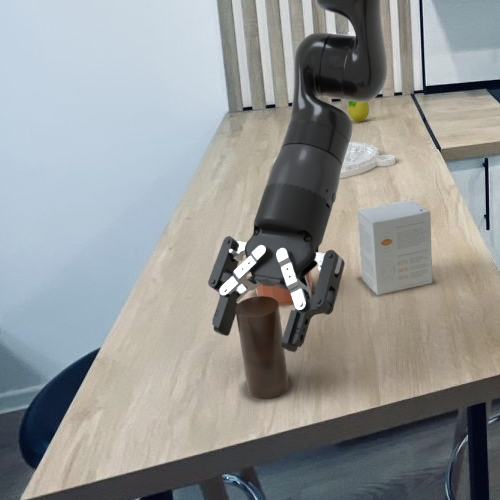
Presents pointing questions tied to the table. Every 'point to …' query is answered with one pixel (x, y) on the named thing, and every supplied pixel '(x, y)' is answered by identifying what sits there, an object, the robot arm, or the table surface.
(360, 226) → the small box
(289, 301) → the socket cup
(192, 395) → the table surface
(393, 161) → the medallion
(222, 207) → the table surface
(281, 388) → the peg
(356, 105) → the lemon
